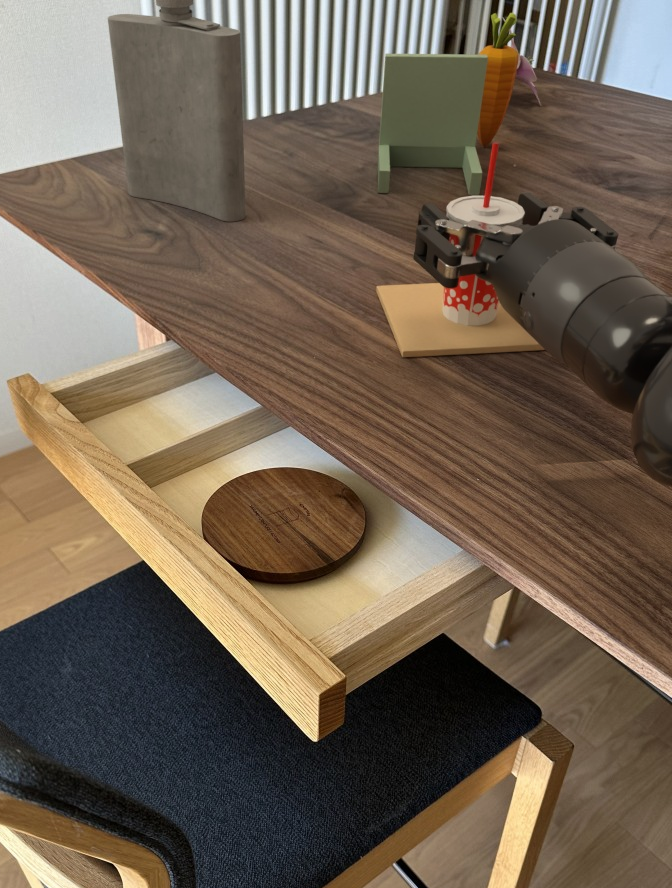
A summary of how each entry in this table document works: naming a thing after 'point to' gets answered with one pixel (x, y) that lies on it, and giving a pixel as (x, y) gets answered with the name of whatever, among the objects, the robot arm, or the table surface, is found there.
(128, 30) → the hip flask
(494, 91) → the carrot
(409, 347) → the cork mat
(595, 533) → the table surface
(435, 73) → the tablet stand
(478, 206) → the beverage cup
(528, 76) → the lily
